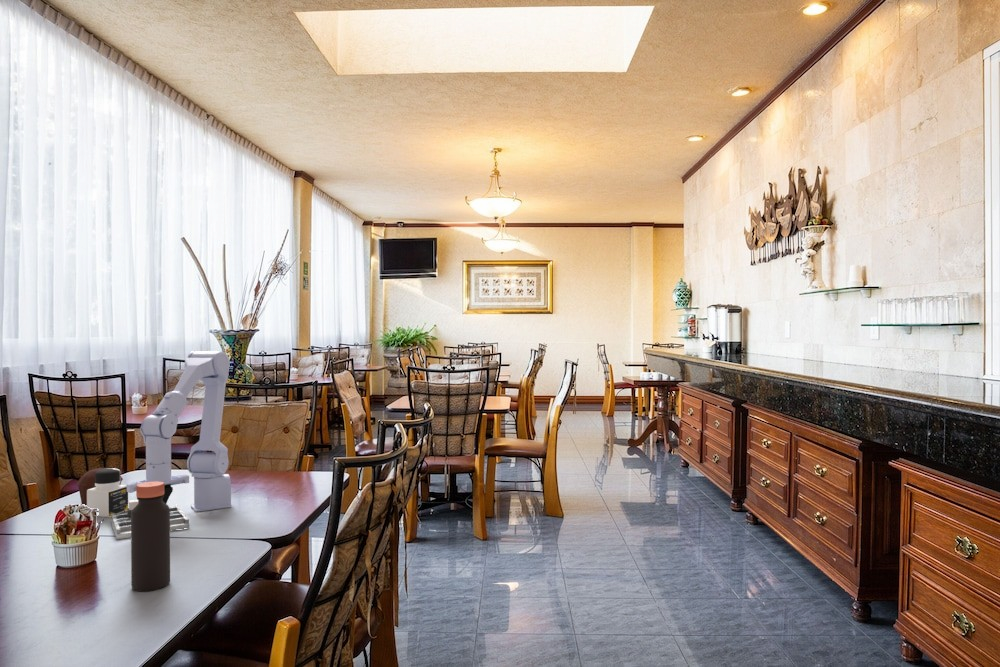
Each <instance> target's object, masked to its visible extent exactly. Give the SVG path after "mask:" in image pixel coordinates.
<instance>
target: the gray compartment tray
mask: <svg viewBox="0 0 1000 667" xmlns="http://www.w3.org/2000/svg"><path fill="white" fill-rule="evenodd" d="M169 508H170V532H172V531H171V530H176V529H183V530H185V529H184V528H189V529H190V519H189V517H188V516H187V515H186V513H185V512H184V511H183V509H182V508H181V507H180V505H179V504H175V505H174V506H172V507H170V506H169ZM110 524H111V526H112V528H113V529H112V530H113V532H115V533H114V535H115V538H116V540H123V538H124V539H131V538H130V537H131V517H128V518H127V512H126V513H119V514H117V515H115V513H114V514H111V517H110ZM176 531H177V530H176Z"/></svg>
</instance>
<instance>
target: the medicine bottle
mask: <svg viewBox="0 0 1000 667" xmlns="http://www.w3.org/2000/svg"><path fill="white" fill-rule="evenodd" d="M120 476H121V470H120V469H118V468H110V467H109V469H101V470H99V471H97V472H96V473H95V486H96V487H95V488H92V489H88V490H87V506H88V507H90V508H98V509H99V515H98V516H97V517H99V518H100V517H101V518H111V514H114V513H115V515H116V514H117V515H118V514H123V513H124V511H125V512H127V508H129V492H127V484H121V485H119V484H120Z"/></svg>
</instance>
